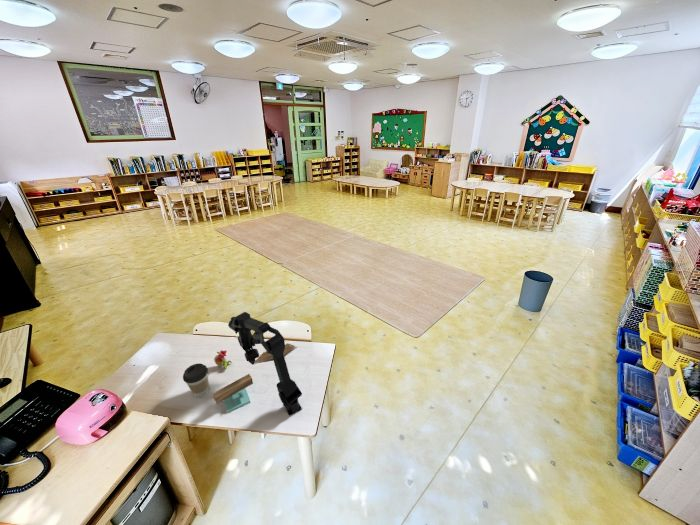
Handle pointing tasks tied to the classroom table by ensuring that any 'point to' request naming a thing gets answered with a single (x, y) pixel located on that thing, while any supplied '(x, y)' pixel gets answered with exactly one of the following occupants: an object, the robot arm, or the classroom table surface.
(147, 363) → the classroom table surface
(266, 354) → the wooden fragment
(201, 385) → the coffee cup
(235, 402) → the fulcrum block
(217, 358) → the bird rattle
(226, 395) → the walnut bar
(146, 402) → the classroom table surface
